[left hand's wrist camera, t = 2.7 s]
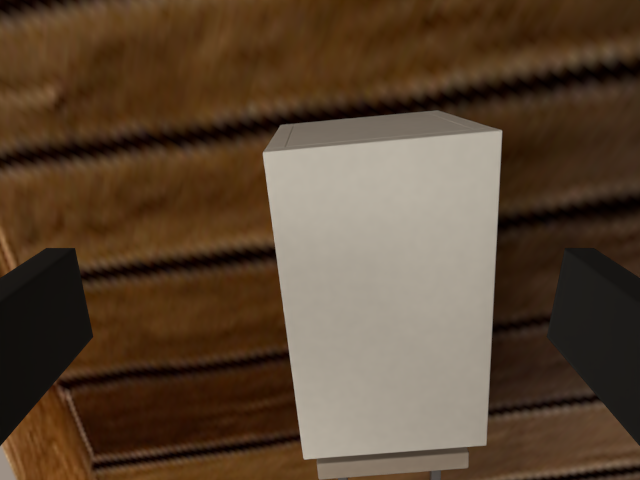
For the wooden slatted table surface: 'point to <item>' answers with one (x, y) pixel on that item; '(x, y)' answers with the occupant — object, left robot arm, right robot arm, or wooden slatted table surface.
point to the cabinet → (387, 278)
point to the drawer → (394, 463)
